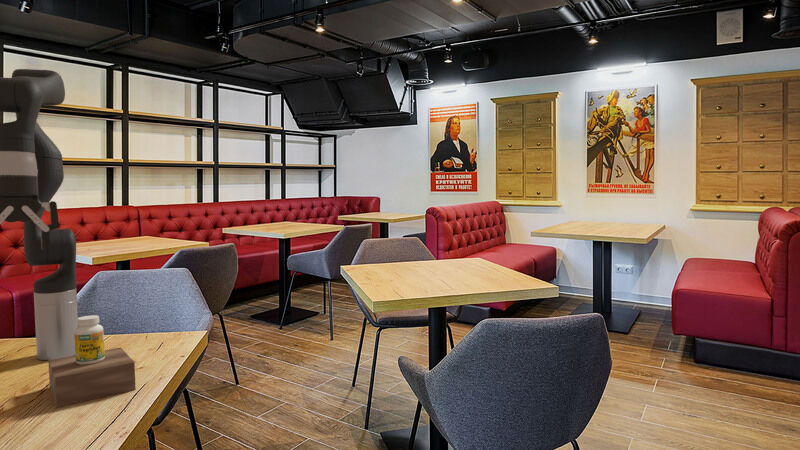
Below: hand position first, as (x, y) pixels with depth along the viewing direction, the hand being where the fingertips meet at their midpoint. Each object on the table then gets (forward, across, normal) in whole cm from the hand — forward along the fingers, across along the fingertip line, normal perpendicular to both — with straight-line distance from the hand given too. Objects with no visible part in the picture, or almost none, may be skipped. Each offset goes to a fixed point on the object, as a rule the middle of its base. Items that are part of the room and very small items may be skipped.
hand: (19, 250), depth 107 cm
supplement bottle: (+24, -11, +9) cm, 28 cm away
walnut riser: (+30, -11, +9) cm, 33 cm away
